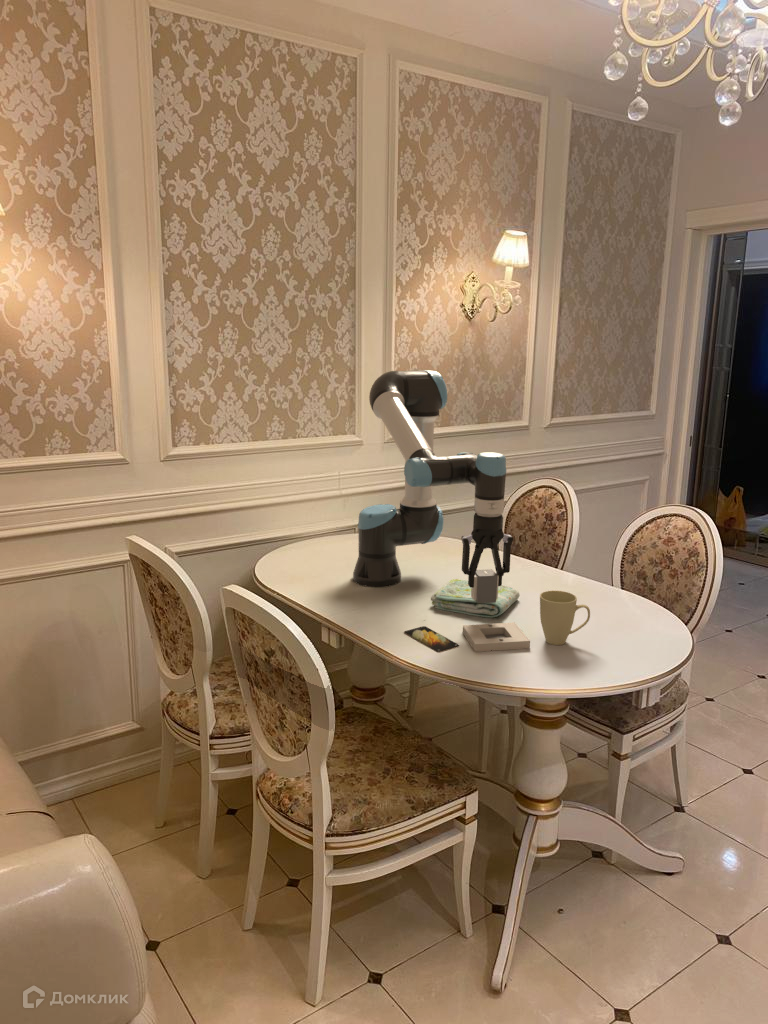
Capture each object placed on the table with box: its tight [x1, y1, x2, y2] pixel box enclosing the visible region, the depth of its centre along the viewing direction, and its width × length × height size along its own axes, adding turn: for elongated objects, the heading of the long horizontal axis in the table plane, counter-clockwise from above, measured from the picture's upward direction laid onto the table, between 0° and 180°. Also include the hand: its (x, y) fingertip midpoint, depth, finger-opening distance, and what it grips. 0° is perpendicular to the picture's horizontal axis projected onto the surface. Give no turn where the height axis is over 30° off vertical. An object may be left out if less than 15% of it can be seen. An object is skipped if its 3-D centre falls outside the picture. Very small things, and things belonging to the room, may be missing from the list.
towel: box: [430, 578, 520, 619], centre depth 214 cm, size 18×21×5 cm
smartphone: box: [403, 625, 460, 653], centre depth 190 cm, size 7×1×15 cm
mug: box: [539, 590, 591, 646], centre depth 187 cm, size 11×10×12 cm
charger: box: [475, 568, 498, 603], centre depth 196 cm, size 5×5×8 cm
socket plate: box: [462, 621, 531, 653], centre depth 189 cm, size 12×14×2 cm
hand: (484, 597), depth 197 cm, fingers closed on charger, 5 cm apart
